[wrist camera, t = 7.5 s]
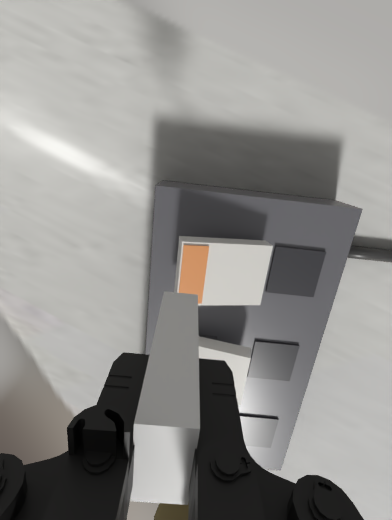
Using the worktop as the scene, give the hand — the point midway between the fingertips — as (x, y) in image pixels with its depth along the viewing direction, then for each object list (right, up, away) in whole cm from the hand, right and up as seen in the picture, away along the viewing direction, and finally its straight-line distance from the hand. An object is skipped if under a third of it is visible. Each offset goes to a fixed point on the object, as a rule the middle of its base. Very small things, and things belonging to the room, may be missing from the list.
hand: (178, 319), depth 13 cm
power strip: (+7, -4, +14) cm, 17 cm away
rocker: (+3, +2, +6) cm, 7 cm away
